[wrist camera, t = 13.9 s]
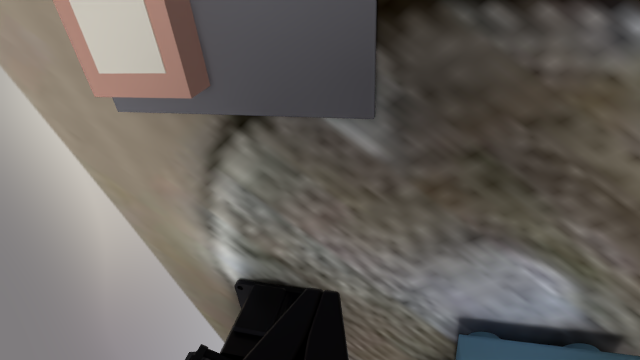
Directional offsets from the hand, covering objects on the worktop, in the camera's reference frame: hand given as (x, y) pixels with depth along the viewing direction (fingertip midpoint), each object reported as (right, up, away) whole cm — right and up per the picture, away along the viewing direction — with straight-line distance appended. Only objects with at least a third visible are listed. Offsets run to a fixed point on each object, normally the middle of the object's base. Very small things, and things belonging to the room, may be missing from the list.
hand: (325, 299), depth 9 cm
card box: (-7, +12, +7) cm, 15 cm away
